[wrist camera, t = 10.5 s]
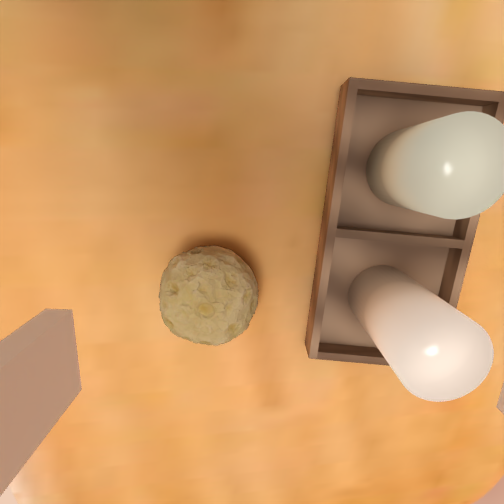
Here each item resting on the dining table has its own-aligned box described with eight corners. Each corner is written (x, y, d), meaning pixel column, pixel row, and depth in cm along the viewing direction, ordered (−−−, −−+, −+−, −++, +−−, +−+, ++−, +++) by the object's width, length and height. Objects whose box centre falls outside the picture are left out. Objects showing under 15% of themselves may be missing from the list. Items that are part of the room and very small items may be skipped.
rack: (340, 86, 30) (349, 77, 27) (486, 99, 30) (511, 92, 27) (304, 343, 36) (308, 358, 33) (425, 354, 36) (440, 370, 33)
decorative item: (260, 282, 39) (288, 253, 30) (227, 364, 35) (248, 359, 26) (186, 247, 38) (192, 207, 29) (144, 327, 34) (135, 309, 25)
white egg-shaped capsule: (373, 125, 30) (420, 106, 21) (450, 132, 30) (529, 116, 21) (360, 202, 32) (399, 214, 23) (433, 209, 32) (499, 223, 23)
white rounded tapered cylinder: (353, 262, 33) (406, 312, 21) (417, 267, 33) (504, 320, 21) (343, 321, 35) (388, 397, 23) (404, 326, 35) (480, 405, 23)
